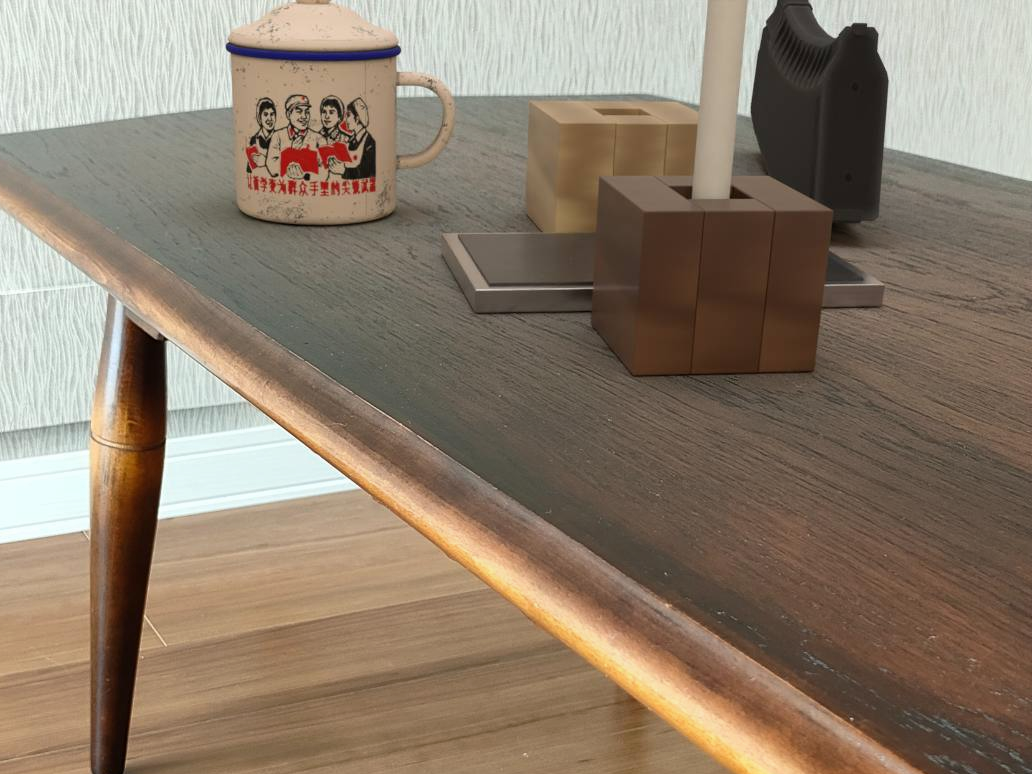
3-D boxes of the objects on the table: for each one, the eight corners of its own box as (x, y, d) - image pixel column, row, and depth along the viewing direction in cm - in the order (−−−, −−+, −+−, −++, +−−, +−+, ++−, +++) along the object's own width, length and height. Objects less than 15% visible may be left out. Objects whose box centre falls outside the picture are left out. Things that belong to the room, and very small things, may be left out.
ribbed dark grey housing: (910, 67, 68) (832, -126, 91) (841, 65, 68) (780, -127, 91) (847, 369, 79) (792, 131, 102) (788, 367, 80) (745, 129, 102)
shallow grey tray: (794, 250, 73) (797, 228, 73) (882, 306, 63) (885, 281, 63) (441, 253, 70) (441, 230, 70) (474, 313, 60) (475, 287, 60)
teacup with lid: (224, 226, 75) (212, -16, 70) (241, 193, 83) (232, -26, 78) (456, 229, 75) (461, -9, 71) (451, 196, 84) (454, -20, 79)
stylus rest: (754, 321, 60) (769, 175, 58) (814, 371, 54) (834, 210, 52) (590, 324, 59) (598, 175, 57) (632, 376, 53) (644, 211, 50)
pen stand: (668, 212, 81) (677, 101, 79) (712, 244, 74) (722, 123, 71) (524, 213, 80) (528, 100, 77) (554, 246, 72) (559, 122, 70)
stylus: (709, 341, 57) (744, -38, 52) (720, 351, 56) (756, -37, 50) (675, 342, 57) (706, -39, 51) (685, 352, 56) (718, -38, 50)
